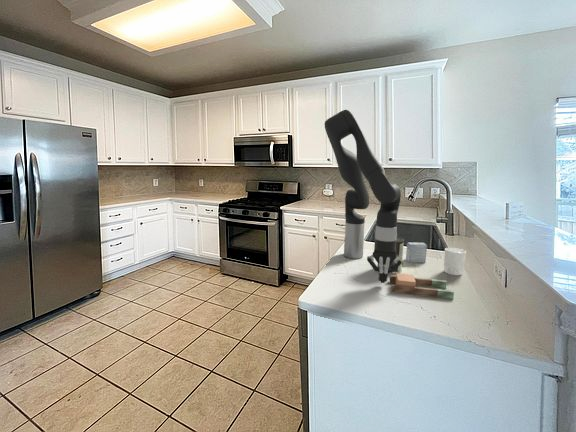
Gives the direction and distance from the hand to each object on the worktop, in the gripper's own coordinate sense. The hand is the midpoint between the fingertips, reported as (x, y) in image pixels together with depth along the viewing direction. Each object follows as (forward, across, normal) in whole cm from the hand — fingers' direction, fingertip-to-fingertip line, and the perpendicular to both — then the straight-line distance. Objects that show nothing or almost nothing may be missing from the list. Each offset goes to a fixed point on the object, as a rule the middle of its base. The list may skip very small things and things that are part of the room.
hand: (382, 282), depth 109 cm
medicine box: (+2, +17, +34) cm, 38 cm away
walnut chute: (+2, +13, 0) cm, 13 cm away
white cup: (+2, +30, +22) cm, 37 cm away
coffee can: (+2, +4, +19) cm, 20 cm away
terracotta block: (+2, +8, 0) cm, 8 cm away
